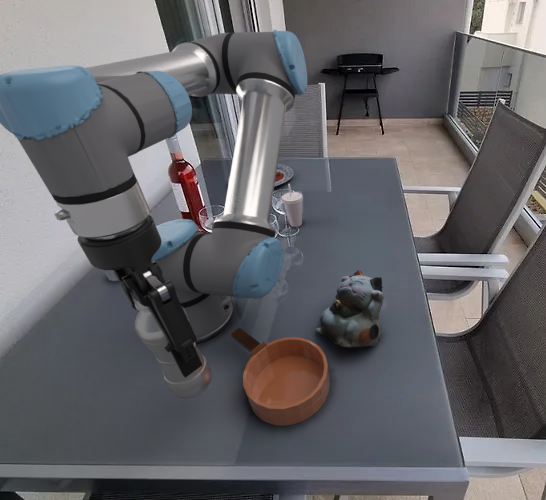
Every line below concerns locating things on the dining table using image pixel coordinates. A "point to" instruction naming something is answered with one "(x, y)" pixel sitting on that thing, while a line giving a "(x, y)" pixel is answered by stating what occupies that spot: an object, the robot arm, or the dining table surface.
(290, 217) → the smoothie
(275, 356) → the pan
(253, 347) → the pan handle
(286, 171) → the ceramic plate
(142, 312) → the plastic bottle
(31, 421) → the dining table surface
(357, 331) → the lucky cat figurine
